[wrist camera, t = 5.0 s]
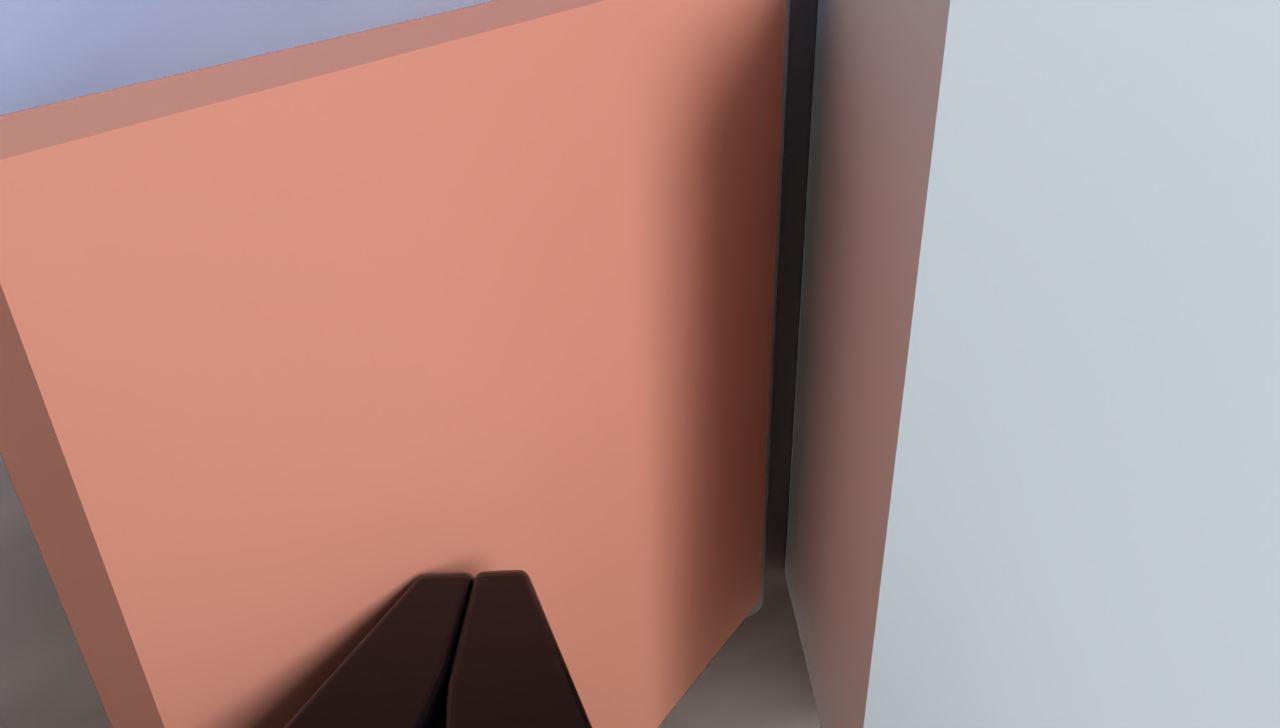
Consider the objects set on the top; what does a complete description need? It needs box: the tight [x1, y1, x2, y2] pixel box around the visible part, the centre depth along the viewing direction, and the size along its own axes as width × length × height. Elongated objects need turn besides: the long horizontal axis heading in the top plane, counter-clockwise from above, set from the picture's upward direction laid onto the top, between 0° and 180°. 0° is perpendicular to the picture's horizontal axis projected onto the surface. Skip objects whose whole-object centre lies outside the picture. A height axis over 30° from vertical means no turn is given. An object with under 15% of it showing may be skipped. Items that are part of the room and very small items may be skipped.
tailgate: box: [0, 0, 790, 728], centre depth 10 cm, size 1×9×8 cm
